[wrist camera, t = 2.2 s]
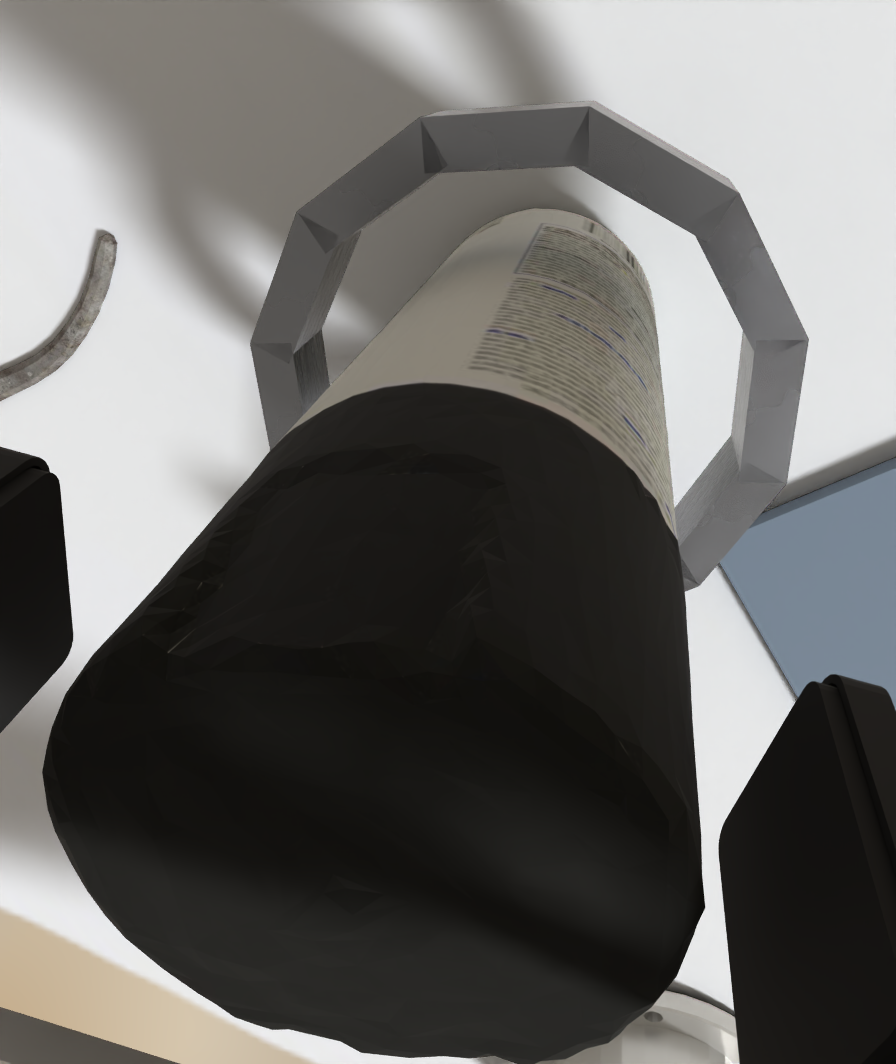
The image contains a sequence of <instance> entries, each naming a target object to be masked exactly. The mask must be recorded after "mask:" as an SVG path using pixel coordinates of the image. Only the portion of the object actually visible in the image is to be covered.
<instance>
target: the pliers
mask: <svg viewBox="0 0 896 1064" xmlns="http://www.w3.org/2000/svg"><path fill="white" fill-rule="evenodd" d="M116 251H117V242H116V240H115V238H114V236H113V235H111V234H106V235H104V236H102V237H100V238H99V240H98V243H97V247H96V251H95V254H94V258H93V262H92V267H91V271H90V275H89V279H88V281H87V284H86V286H85V289H84V292H83V294H82V297H81V300H80V302H79V304H78V305H77V307H76V309H75V310H74V312H73V314H72V316H71V317H70V319H69V321H68V322H67V324H66V325H65V326H64V328H63V329H62V330H61V331H60V333H59V334H58V335H57V336H56V338H55V339H54V340H53V341H52V342H51V343H50V344H48V345H47V346H46V347H45V348H44V349H42V350H41V351H40V352H39V353H38V354H36V355H35V356H33V357H31V358H29V359H27V360H25V361H23V362H21V363H19V364H17V365H14V366H12V367H10V368H8V369H5V370H3V371H0V401H2V400H4V399H6V398H8V397H10V396H12V395H14V394H16V393H18V392H20V391H22V390H24V389H26V388H28V387H30V386H32V385H34V384H36V383H38V382H39V381H41V380H42V379H44V378H45V377H47V376H49V375H50V374H52V373H53V372H55V371H56V370H57V369H58V368H59V367H60V366H61V365H62V364H63V363H64V362H66V361H67V360H68V359H69V358H70V357H71V356H72V355H73V353H74V352H75V351H76V349H77V348H78V347H79V345H80V344H81V342H82V341H83V340H84V338H85V337H86V335H87V334H88V332H89V330H90V328H91V326H92V325H93V323H94V321H95V319H96V317H97V316H98V314H99V312H100V309H101V307H102V304H103V301H104V299H105V296H106V294H107V291H108V289H109V285H110V281H111V277H112V273H113V269H114V265H115V259H116Z"/></svg>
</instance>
